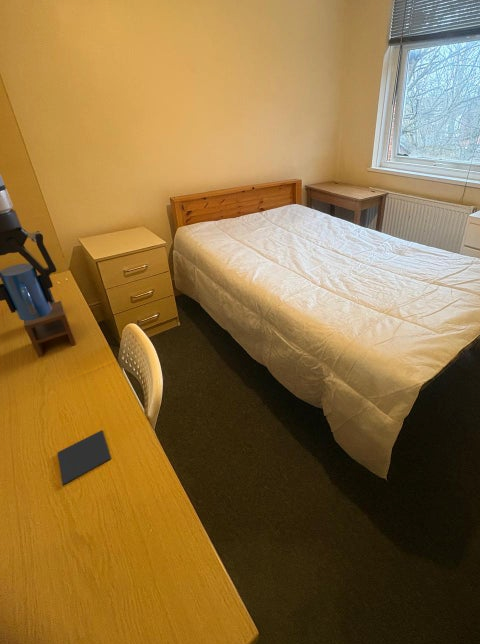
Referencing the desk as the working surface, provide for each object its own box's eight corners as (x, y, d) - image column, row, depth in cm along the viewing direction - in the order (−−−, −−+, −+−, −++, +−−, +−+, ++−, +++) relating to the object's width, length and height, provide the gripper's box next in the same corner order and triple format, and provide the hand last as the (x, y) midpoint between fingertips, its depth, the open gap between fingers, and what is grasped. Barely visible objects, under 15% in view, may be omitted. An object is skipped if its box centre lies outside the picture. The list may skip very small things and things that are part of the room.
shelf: (36, 341, 106) (22, 311, 101) (71, 329, 112) (60, 300, 106) (38, 357, 99) (24, 326, 94) (76, 344, 105) (64, 314, 100)
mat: (57, 453, 72) (57, 452, 72) (102, 430, 78) (102, 429, 77) (63, 485, 66) (62, 484, 66) (111, 459, 71) (110, 458, 71)
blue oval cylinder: (18, 311, 78) (-2, 268, 73) (50, 302, 82) (33, 260, 77) (20, 328, 73) (-2, 282, 67) (54, 318, 76) (36, 273, 71)
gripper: (-79, 225, 58) (-23, 327, 69) (50, 207, 70) (81, 297, 80) (-74, 216, 63) (-22, 312, 74) (46, 200, 75) (76, 286, 85)
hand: (32, 304), depth 77 cm, fingers closed on blue oval cylinder, 6 cm apart
